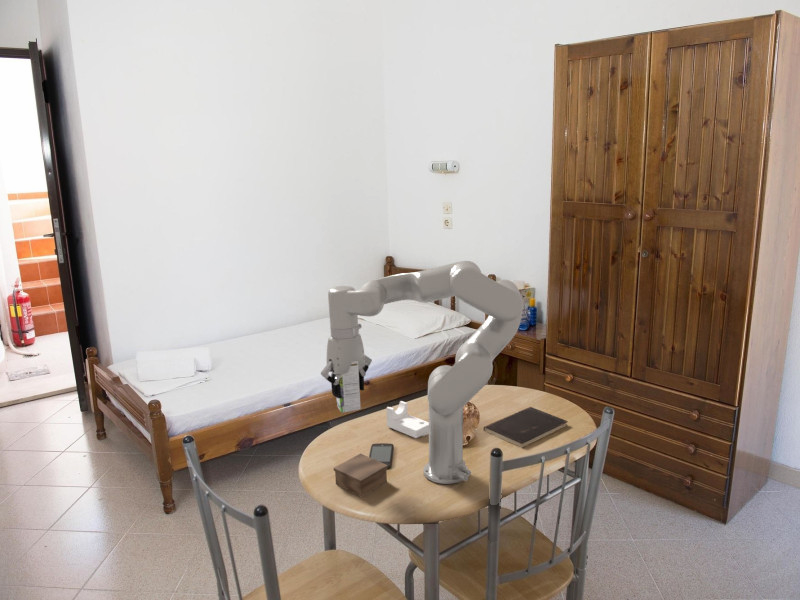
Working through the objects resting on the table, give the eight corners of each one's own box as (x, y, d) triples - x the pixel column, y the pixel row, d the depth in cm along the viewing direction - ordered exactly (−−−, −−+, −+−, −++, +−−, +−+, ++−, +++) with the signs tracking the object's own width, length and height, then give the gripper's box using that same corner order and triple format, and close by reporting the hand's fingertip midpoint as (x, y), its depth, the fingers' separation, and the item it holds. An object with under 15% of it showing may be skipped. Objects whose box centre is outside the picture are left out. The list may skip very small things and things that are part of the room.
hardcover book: (567, 427, 207) (567, 421, 206) (521, 449, 193) (522, 443, 192) (529, 412, 219) (529, 406, 218) (483, 432, 205) (483, 425, 204)
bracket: (387, 428, 208) (386, 407, 206) (402, 421, 213) (401, 400, 211) (416, 441, 199) (415, 419, 197) (431, 433, 204) (430, 411, 202)
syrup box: (336, 405, 179) (332, 357, 175) (356, 402, 180) (353, 354, 177) (341, 413, 173) (337, 363, 170) (361, 409, 175) (358, 360, 172)
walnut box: (388, 482, 176) (387, 465, 175) (361, 498, 168) (360, 480, 167) (361, 469, 183) (360, 453, 181) (334, 484, 175) (333, 467, 174)
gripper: (362, 322, 179) (366, 381, 183) (309, 335, 169) (314, 397, 173) (378, 327, 173) (381, 388, 178) (324, 342, 163) (329, 405, 167)
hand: (348, 392), depth 175 cm, fingers closed on syrup box, 7 cm apart
